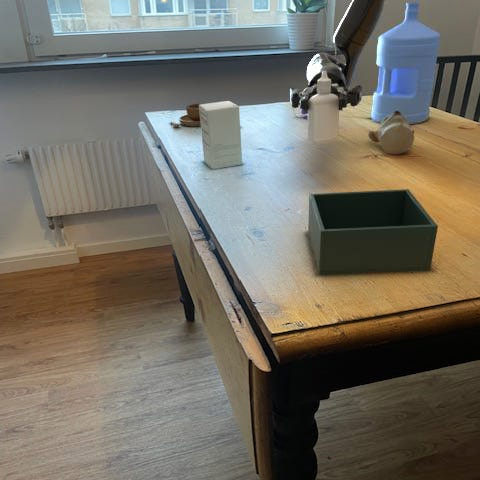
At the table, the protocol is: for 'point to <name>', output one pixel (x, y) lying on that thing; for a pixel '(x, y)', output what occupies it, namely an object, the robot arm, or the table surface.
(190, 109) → the place setting
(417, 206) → the storage bin
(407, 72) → the water jug
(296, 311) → the table surface
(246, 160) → the table surface
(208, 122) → the white packaging box
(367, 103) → the table surface
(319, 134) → the eye dropper bottle
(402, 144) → the ceramic sculpture
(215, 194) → the table surface
